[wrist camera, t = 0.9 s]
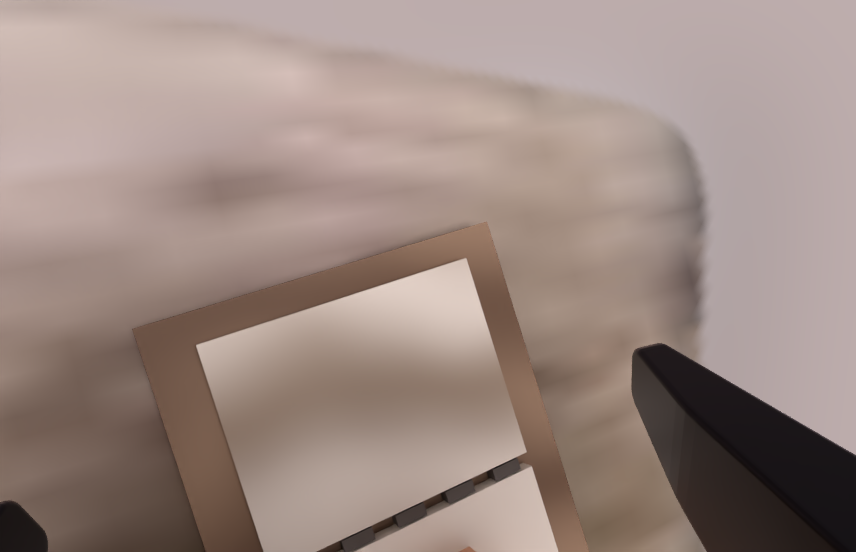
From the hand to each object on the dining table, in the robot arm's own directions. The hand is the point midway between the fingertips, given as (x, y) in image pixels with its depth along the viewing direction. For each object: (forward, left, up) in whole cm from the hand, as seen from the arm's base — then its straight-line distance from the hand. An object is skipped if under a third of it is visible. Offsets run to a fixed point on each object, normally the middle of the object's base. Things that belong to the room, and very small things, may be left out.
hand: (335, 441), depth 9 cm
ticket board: (-6, -3, -12) cm, 14 cm away
